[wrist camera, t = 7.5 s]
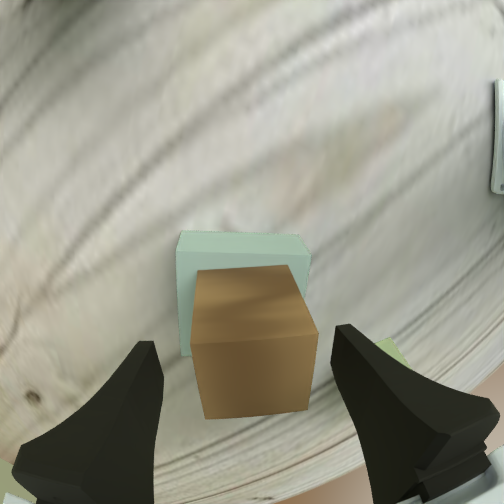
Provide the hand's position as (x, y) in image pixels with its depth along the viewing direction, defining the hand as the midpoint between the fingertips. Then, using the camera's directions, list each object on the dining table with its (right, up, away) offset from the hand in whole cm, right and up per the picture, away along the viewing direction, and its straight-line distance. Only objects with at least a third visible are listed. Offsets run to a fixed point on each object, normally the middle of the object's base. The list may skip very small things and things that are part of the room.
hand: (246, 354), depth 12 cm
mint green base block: (-1, +2, +6) cm, 6 cm away
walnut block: (0, +1, +3) cm, 3 cm away
